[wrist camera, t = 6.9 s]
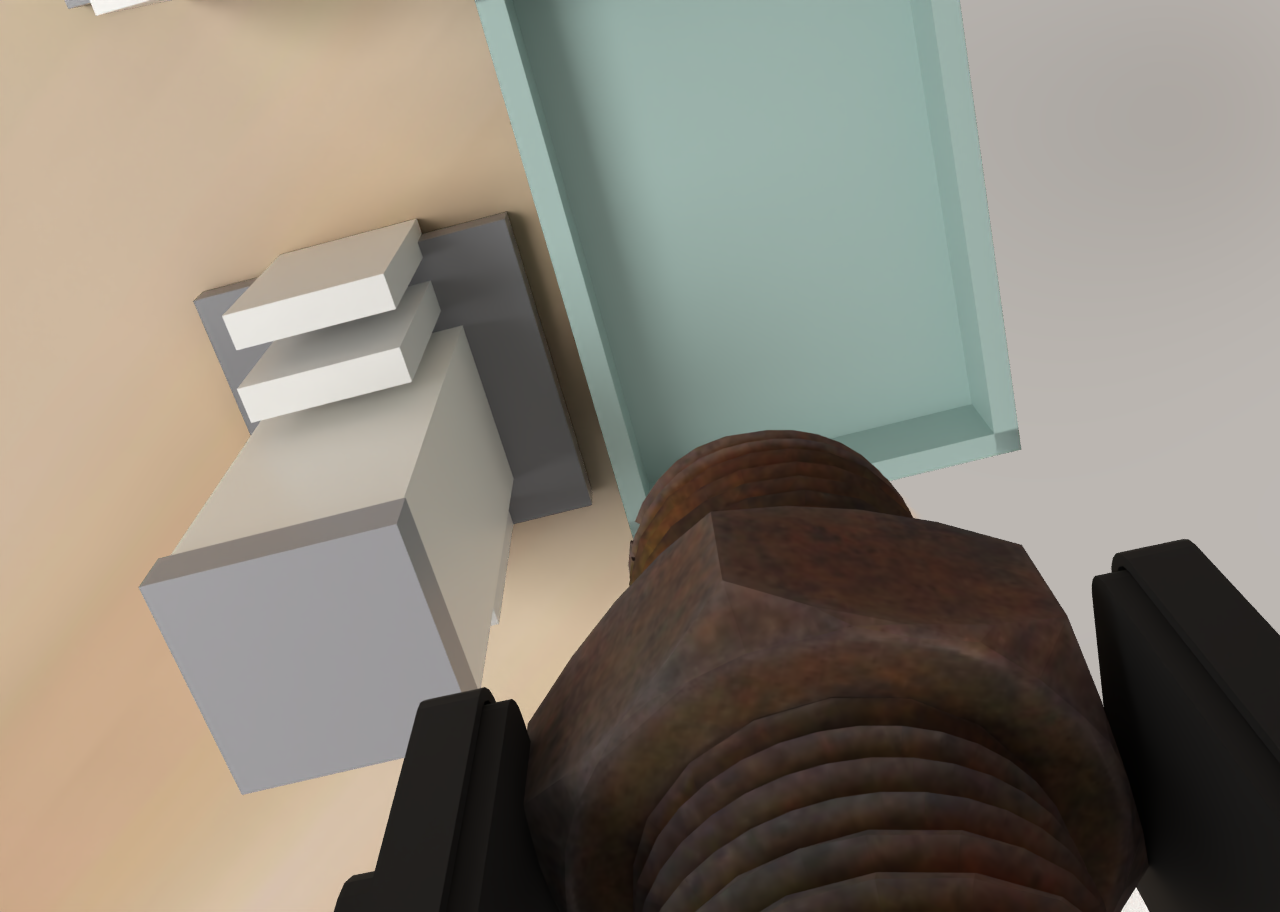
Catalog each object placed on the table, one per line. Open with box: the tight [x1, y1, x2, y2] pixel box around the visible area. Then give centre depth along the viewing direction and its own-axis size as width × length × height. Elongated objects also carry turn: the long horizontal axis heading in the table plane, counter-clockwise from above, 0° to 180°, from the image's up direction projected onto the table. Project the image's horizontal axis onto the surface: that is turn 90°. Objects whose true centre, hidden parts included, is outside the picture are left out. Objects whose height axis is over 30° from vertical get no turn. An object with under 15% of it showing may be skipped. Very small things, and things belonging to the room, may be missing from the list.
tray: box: [475, 0, 1021, 540], centre depth 29 cm, size 14×10×2 cm
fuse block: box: [65, 0, 592, 795], centre depth 23 cm, size 23×8×12 cm, turn 14°
